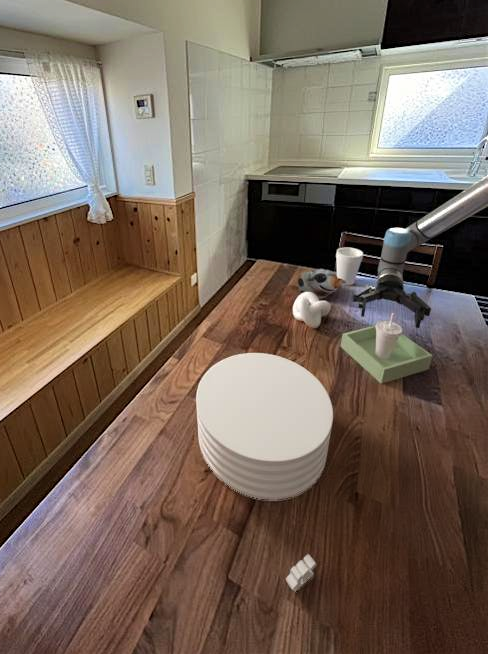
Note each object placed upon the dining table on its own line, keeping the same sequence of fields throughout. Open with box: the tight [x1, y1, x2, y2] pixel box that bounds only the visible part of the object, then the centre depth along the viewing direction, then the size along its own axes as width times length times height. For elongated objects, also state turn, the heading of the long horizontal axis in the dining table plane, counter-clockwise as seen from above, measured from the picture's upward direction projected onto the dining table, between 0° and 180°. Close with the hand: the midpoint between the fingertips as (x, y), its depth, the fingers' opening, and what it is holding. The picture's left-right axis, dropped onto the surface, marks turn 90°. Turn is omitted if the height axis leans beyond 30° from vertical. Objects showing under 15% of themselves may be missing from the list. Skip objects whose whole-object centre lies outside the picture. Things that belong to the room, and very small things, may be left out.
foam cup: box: [335, 246, 364, 286], centre depth 133 cm, size 10×9×13 cm
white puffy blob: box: [292, 292, 332, 329], centre depth 111 cm, size 11×12×9 cm
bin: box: [340, 324, 434, 384], centre depth 95 cm, size 16×16×5 cm
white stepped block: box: [285, 553, 318, 593], centre depth 52 cm, size 5×1×4 cm, turn 120°
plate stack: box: [195, 352, 334, 502], centre depth 74 cm, size 28×28×12 cm
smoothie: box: [374, 312, 403, 360], centre depth 92 cm, size 6×6×14 cm
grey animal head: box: [296, 268, 346, 301], centre depth 125 cm, size 15×12×14 cm
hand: (389, 318), depth 95 cm, fingers open, 13 cm apart
